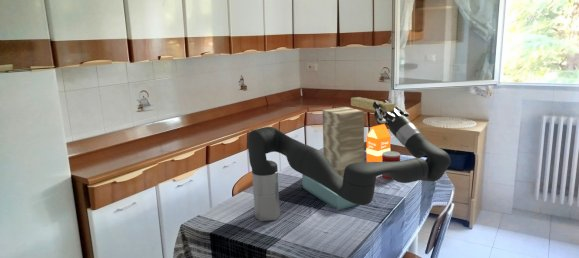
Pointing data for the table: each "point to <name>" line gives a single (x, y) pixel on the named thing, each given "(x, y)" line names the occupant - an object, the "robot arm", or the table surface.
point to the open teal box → (325, 194)
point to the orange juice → (377, 143)
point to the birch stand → (343, 137)
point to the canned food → (390, 158)
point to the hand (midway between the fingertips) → (379, 102)
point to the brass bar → (371, 104)
